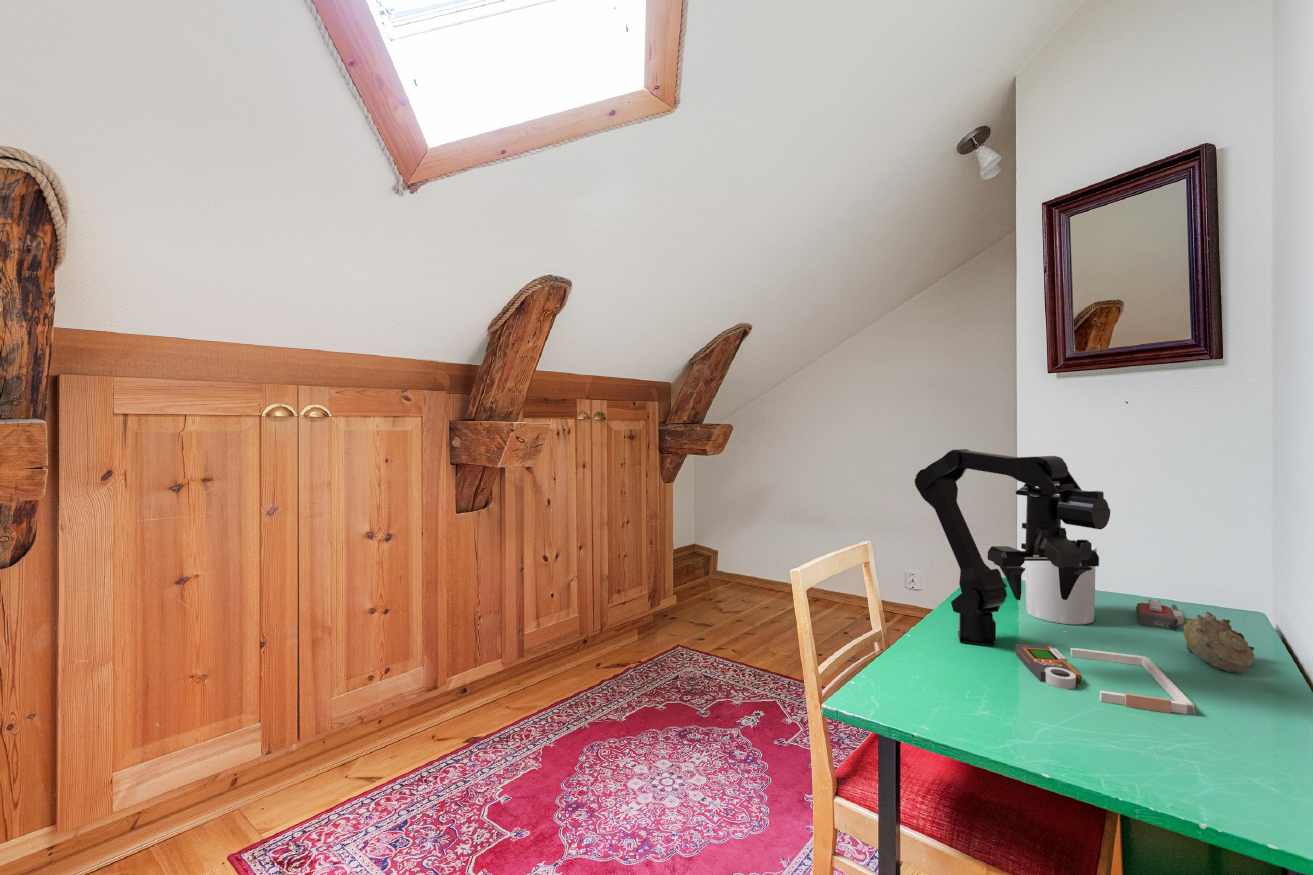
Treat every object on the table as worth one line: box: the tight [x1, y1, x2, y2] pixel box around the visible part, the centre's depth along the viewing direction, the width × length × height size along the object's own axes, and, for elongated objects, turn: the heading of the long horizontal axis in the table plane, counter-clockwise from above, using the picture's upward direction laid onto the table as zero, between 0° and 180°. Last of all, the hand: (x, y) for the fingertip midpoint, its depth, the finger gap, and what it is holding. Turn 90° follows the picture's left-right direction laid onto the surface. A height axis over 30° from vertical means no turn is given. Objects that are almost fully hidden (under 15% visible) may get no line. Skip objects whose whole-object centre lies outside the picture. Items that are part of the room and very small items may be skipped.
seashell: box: [1183, 611, 1255, 674], centre depth 118 cm, size 11×14×10 cm
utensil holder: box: [1023, 540, 1098, 626], centre depth 147 cm, size 15×15×18 cm
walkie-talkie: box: [1135, 599, 1185, 631], centre depth 145 cm, size 9×4×20 cm
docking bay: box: [1070, 647, 1196, 716], centre depth 110 cm, size 12×23×2 cm, turn 157°
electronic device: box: [1015, 643, 1082, 690], centre depth 115 cm, size 7×3×15 cm
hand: (1041, 599), depth 119 cm, fingers open, 9 cm apart
